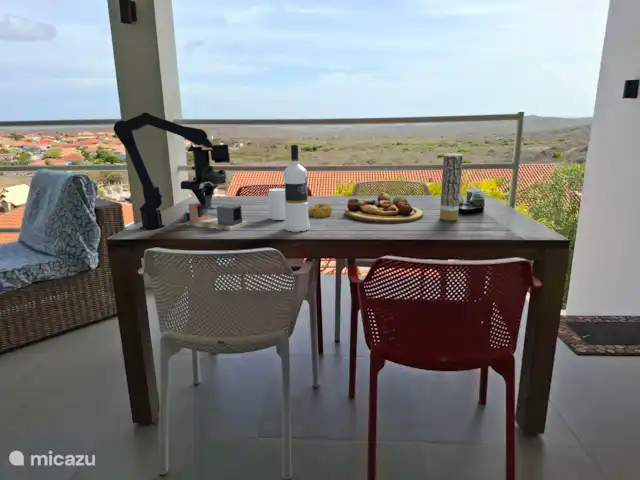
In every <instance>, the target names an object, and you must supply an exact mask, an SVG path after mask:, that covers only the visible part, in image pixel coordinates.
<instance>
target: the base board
mask: <svg viewBox="0 0 640 480" xmlns="http://www.w3.org/2000/svg"><path fill="white" fill-rule="evenodd" d="M247 225H248V221H246V220H242V223H240V224H237V225H234V226H230V225H221V224H218V217H212V216H208V219H205V220H202V221H198V222H194V221H186V226H189V227H199V228H206V227H207V228H206V229H214V228H216V229H215V230H222V229H224V230H223V231H230V230H231V231H234V230H236V229H239V228H242V227H244V226H247ZM233 229H234V230H233Z"/></svg>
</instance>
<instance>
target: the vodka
mask: <svg viewBox="0 0 640 480" xmlns="http://www.w3.org/2000/svg"><path fill="white" fill-rule="evenodd" d="M290 157H291V160H290V161H291V164H290V165H289V166H287V167H286V168H285V169H284V170H283V183H284V188H285V210H286V211H285V220H284V223H283V224H284V225H283V226H284V229H285V231H287V232H289V231H291V232H290V233H301V232H300V231H303V232H306V230H307V231H308V230H310V227H311V225H310V224H311V223H310V216H308V209H309V208H308V206H309V202H308V200H309V199H308V198H309V196H308V170H307V169H306V168H305V167H304V166H303V165H301V164H300V160H299V145H298V144H291V145H290Z"/></svg>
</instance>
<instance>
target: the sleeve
mask: <svg viewBox="0 0 640 480" xmlns="http://www.w3.org/2000/svg"><path fill="white" fill-rule="evenodd" d="M216 207H217V217H216V218H218V224H221V225H230V226H234V225H237V224H240V223H242V221H243V213H242V210H243V209H242V205H240V204H231V203H230V204H229V203H228V204H227V203H224V204H222V205H218V206H216Z"/></svg>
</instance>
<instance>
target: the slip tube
mask: <svg viewBox="0 0 640 480" xmlns="http://www.w3.org/2000/svg"><path fill="white" fill-rule="evenodd" d="M217 207H218V206H215V207H214V206H212V199H211V198H210V195H205V194H204V206H202V205H201V206H197V209H198V215H203V216H208V217H212V218H218V217H217Z"/></svg>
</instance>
